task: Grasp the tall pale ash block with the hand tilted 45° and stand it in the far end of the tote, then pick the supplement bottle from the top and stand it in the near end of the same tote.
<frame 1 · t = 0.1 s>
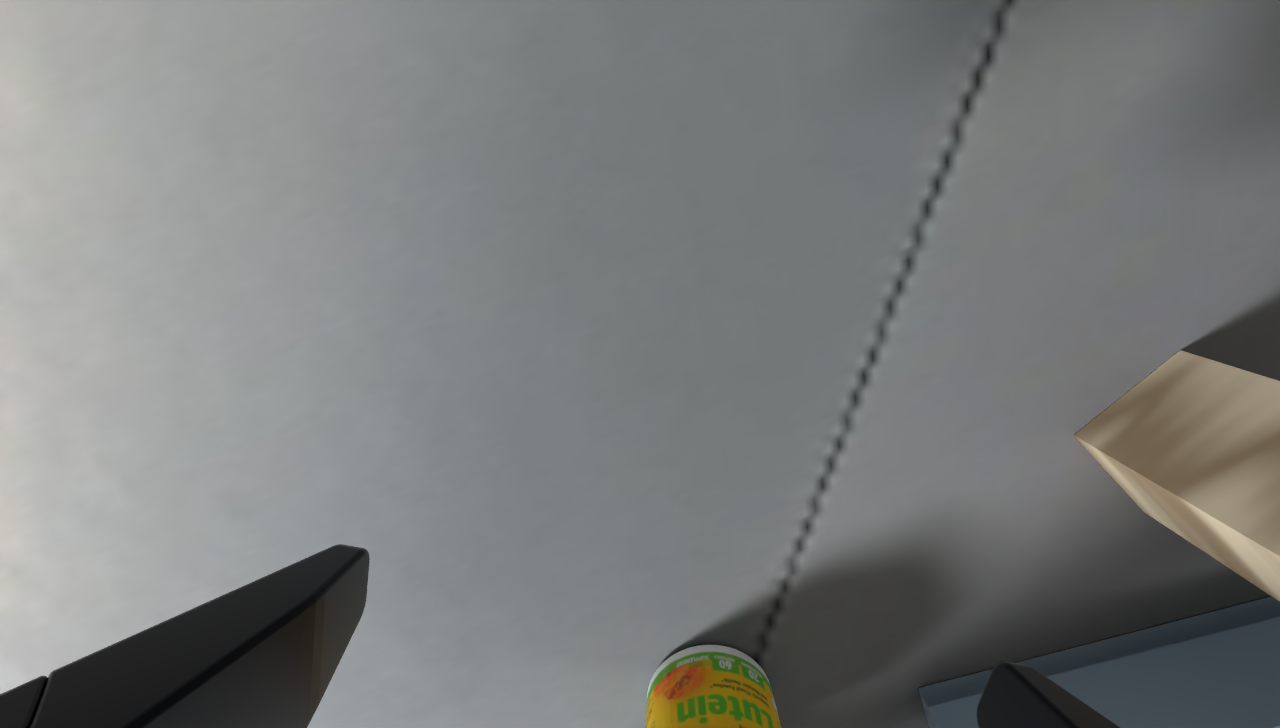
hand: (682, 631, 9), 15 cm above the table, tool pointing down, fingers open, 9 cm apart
tall ash block: (1161, 434, 23), on the table
supplement bottle: (708, 688, 27), on the table
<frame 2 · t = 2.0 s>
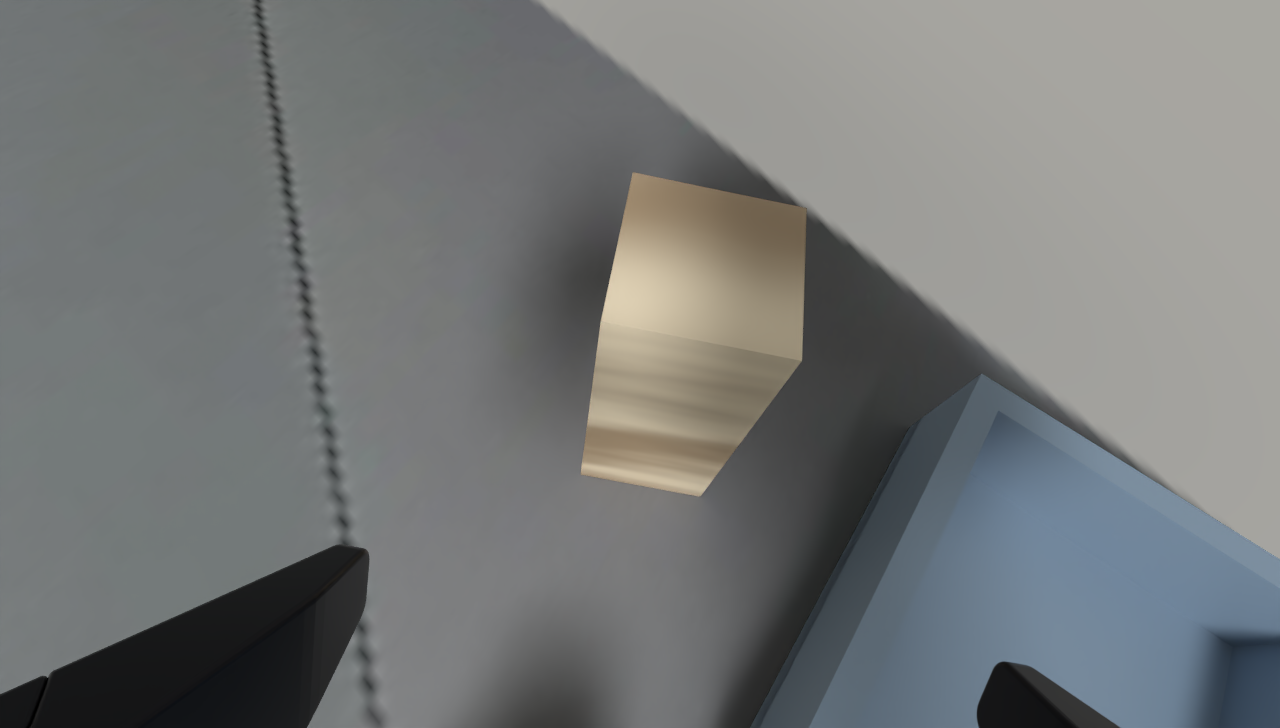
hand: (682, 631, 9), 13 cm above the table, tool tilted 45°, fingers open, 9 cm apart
tall ash block: (649, 429, 25), on the table
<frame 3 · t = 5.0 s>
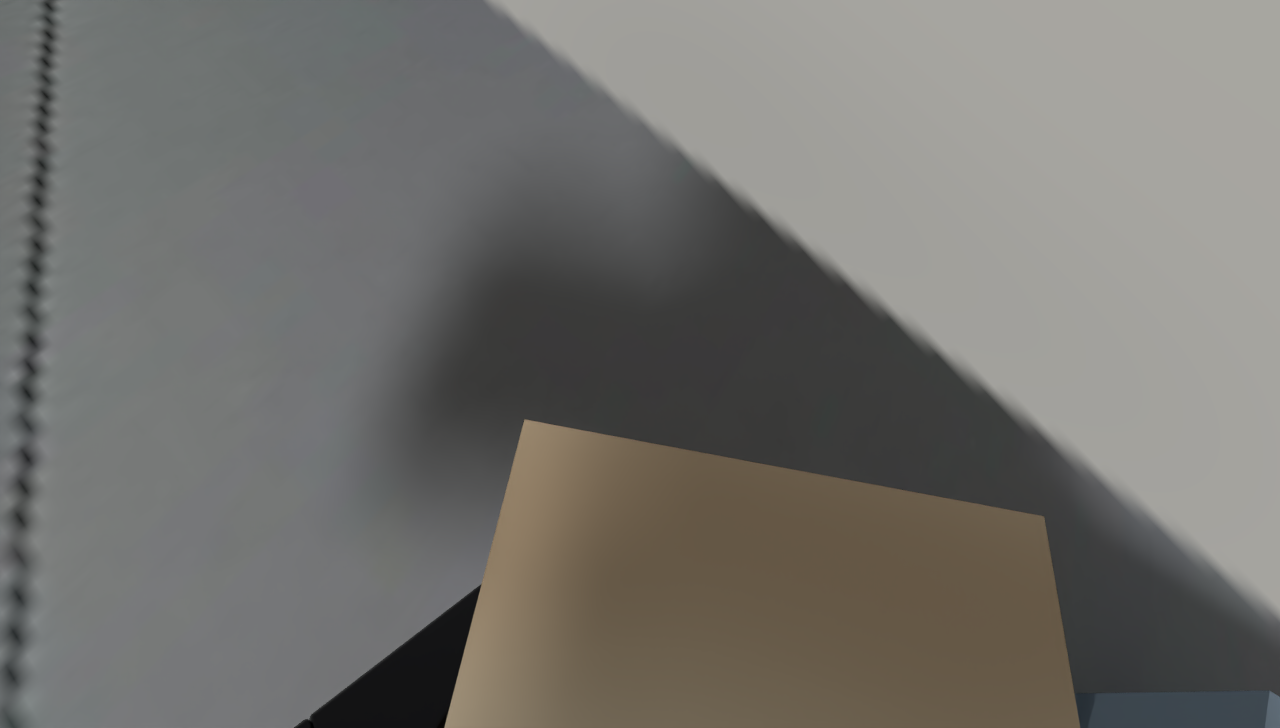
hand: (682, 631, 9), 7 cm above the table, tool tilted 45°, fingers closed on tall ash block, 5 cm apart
tall ash block: (620, 727, 14), on the table, touching gripper
when the fingers open (9 cm above the table, at t = 11.8 s): tall ash block drops 1 cm, resting on tote.
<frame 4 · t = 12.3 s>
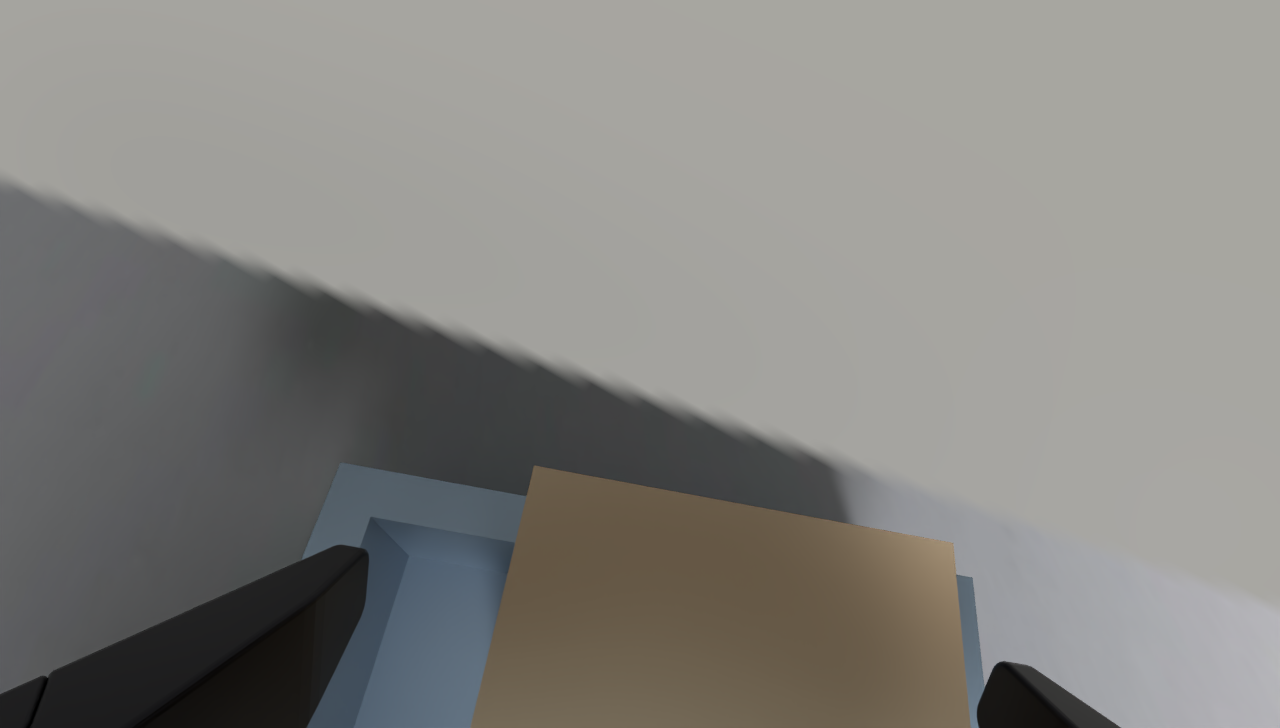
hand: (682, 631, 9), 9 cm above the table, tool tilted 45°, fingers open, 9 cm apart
tall ash block: (616, 720, 15), point 1 cm above the table, touching tote
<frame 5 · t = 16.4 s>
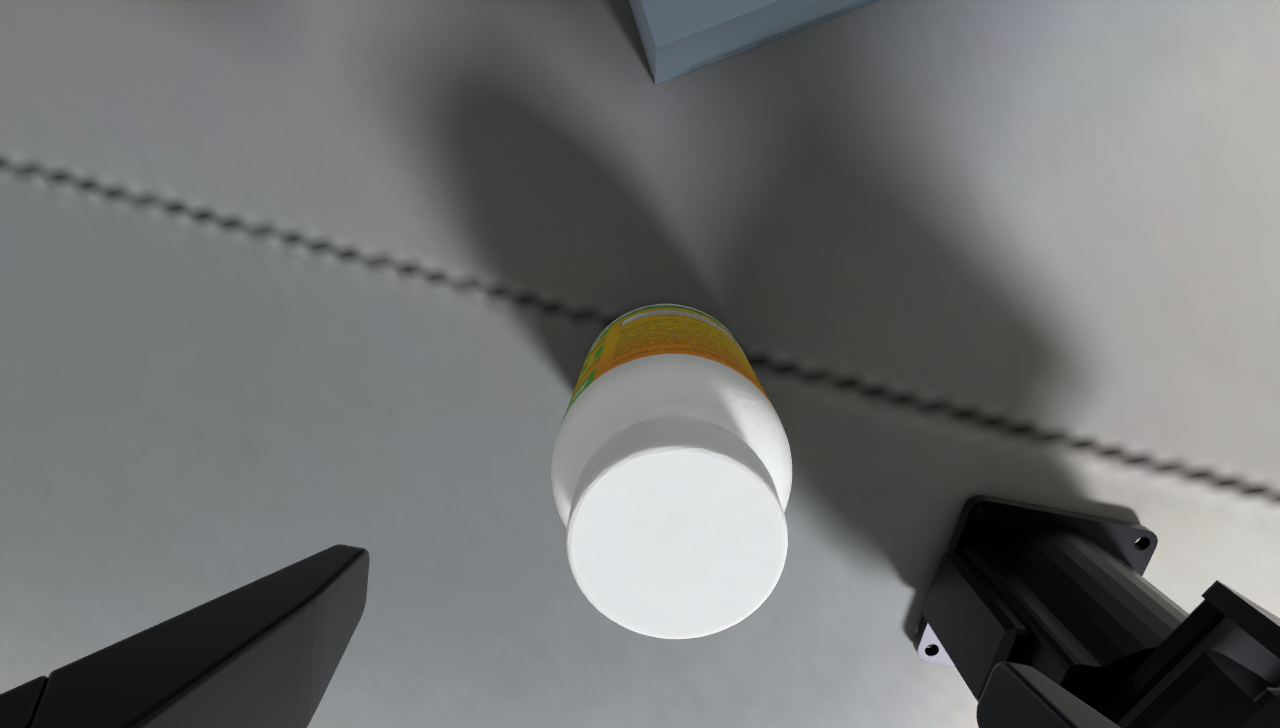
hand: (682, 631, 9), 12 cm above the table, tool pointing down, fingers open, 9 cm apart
supplement bottle: (664, 380, 21), on the table
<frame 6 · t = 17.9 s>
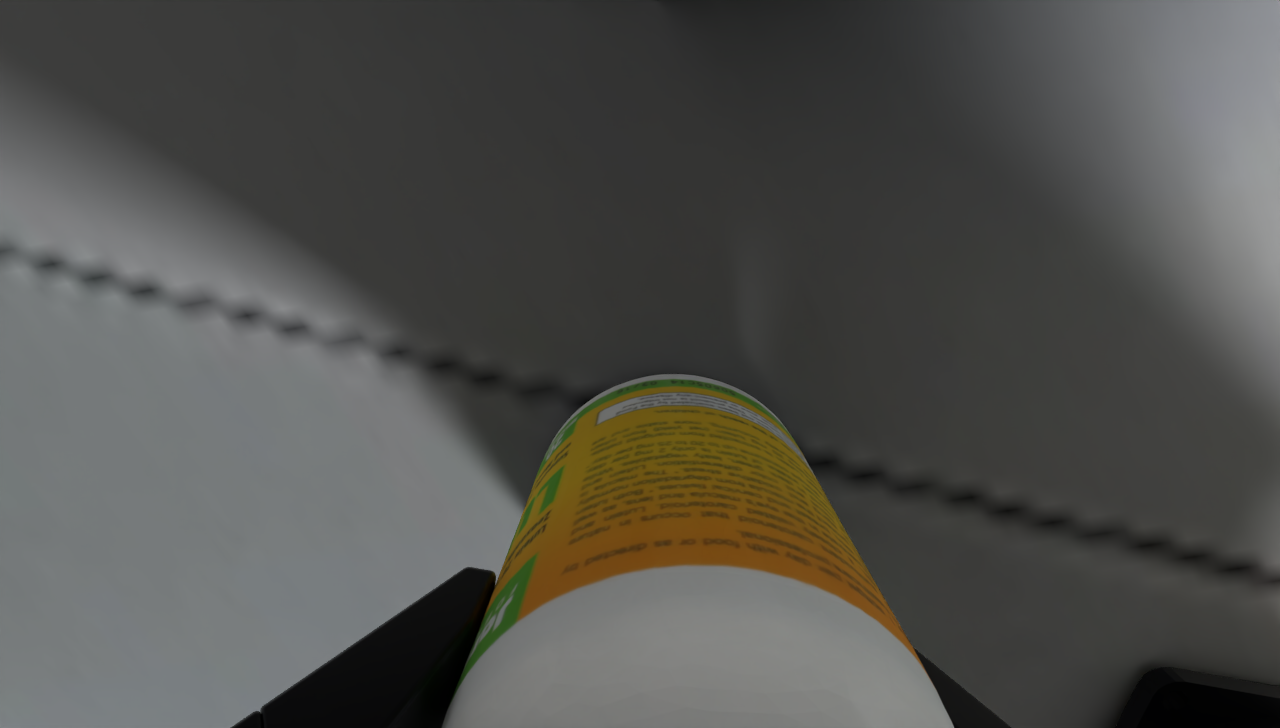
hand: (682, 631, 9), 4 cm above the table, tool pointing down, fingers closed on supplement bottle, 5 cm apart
supplement bottle: (671, 490, 13), on the table, touching gripper
when the fingers open (6 cm above the table, at t = 22.1 s): supplement bottle drops 1 cm, resting on tote.
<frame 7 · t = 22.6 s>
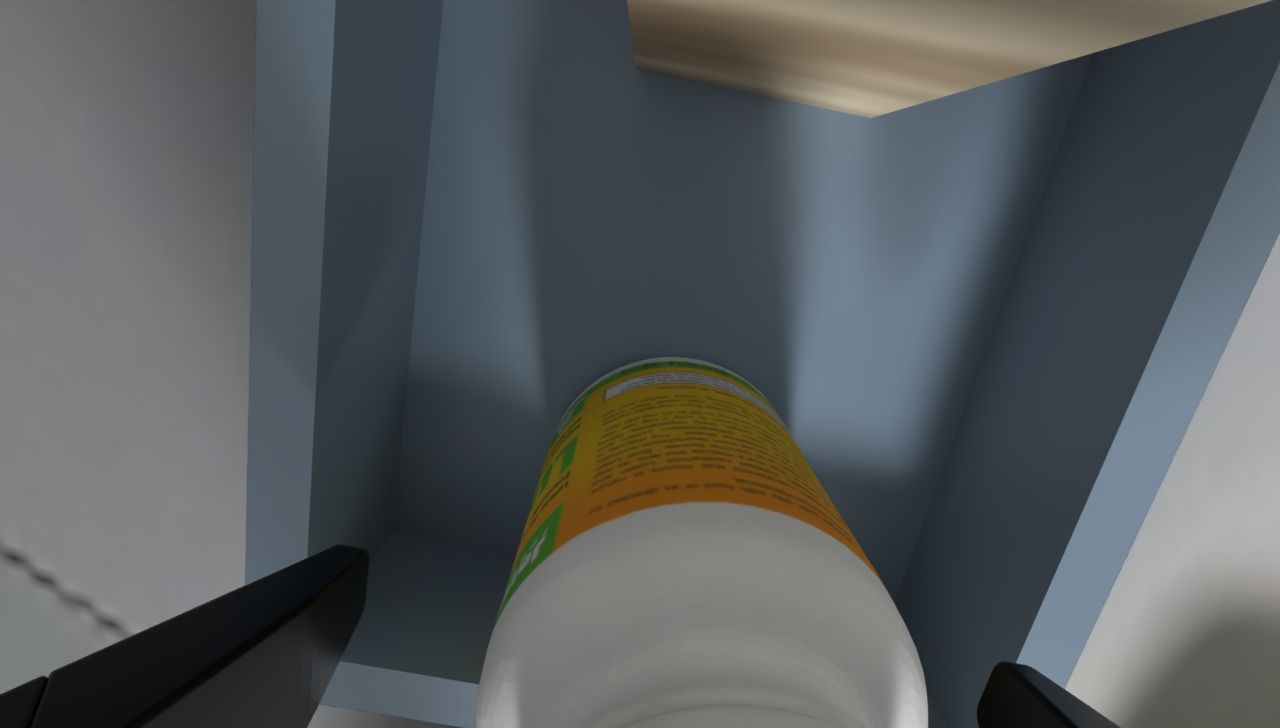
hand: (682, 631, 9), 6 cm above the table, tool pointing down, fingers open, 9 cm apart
tote: (715, 236, 14), on the table
supplement bottle: (668, 463, 14), point 1 cm above the table, touching tote
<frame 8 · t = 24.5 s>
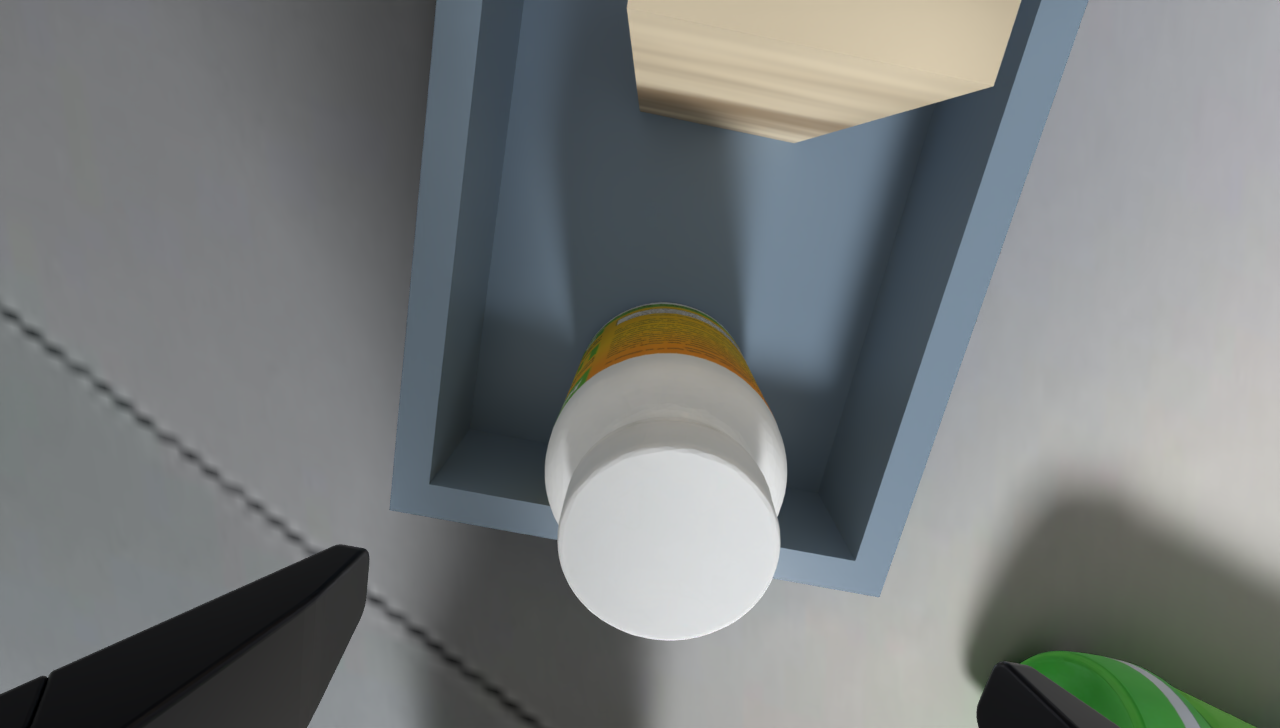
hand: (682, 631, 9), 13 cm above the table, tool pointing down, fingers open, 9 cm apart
tall ash block: (735, 41, 18), point 1 cm above the table, touching tote
tote: (694, 221, 20), on the table
supplement bottle: (662, 379, 21), point 1 cm above the table, touching tote
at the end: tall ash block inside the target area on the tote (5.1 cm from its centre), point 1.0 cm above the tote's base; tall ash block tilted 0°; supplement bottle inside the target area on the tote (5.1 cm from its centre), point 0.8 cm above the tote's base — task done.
